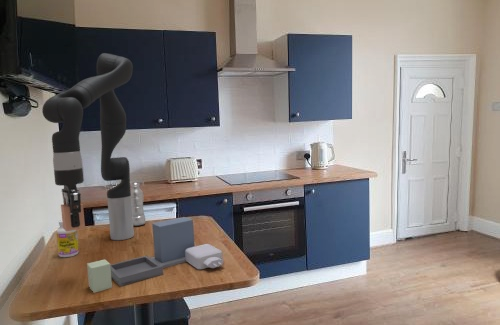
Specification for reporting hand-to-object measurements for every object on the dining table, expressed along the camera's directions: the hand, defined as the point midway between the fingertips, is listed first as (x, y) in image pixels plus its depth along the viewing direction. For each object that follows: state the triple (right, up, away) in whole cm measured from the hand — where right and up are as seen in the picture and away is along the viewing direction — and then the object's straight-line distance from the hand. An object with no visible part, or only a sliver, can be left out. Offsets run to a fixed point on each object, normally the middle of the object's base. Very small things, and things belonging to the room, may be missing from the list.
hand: (73, 224), depth 110 cm
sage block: (+9, -17, -3) cm, 20 cm away
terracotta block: (0, -1, 0) cm, 1 cm away
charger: (+38, -15, +10) cm, 43 cm away
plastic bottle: (0, -11, +64) cm, 65 cm away
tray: (+16, -16, +6) cm, 23 cm away
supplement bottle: (-14, -16, +27) cm, 34 cm away
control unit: (+26, -14, +17) cm, 35 cm away
